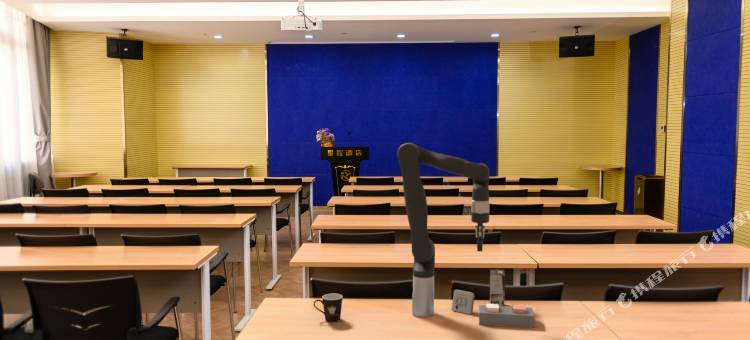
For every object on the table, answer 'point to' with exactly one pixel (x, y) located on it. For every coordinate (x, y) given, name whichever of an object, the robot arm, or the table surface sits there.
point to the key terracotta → (519, 309)
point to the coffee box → (497, 287)
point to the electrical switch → (463, 301)
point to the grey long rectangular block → (506, 317)
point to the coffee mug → (331, 307)
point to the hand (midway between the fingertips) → (479, 250)
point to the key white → (492, 307)
